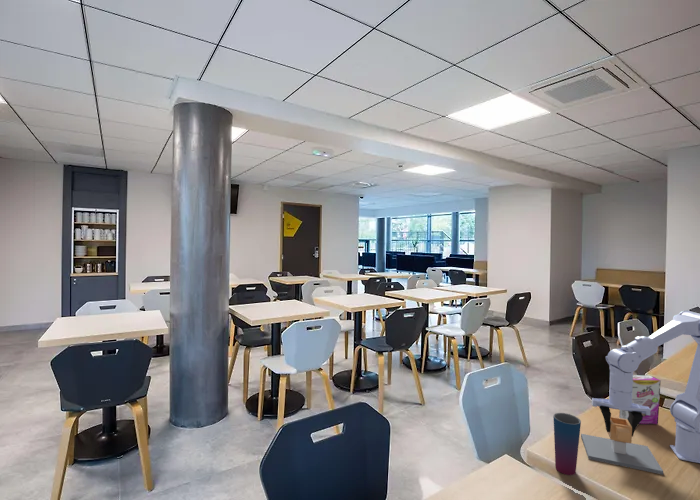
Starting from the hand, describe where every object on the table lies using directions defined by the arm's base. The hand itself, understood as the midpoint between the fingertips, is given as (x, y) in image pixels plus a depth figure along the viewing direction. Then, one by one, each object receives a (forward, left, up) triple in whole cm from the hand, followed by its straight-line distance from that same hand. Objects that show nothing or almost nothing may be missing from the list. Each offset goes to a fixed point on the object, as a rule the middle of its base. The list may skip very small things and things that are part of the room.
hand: (619, 432), depth 115 cm
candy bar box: (-12, -28, -7) cm, 31 cm away
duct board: (0, 0, -7) cm, 7 cm away
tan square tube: (0, +1, -2) cm, 2 cm away
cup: (+16, +16, -7) cm, 24 cm away
